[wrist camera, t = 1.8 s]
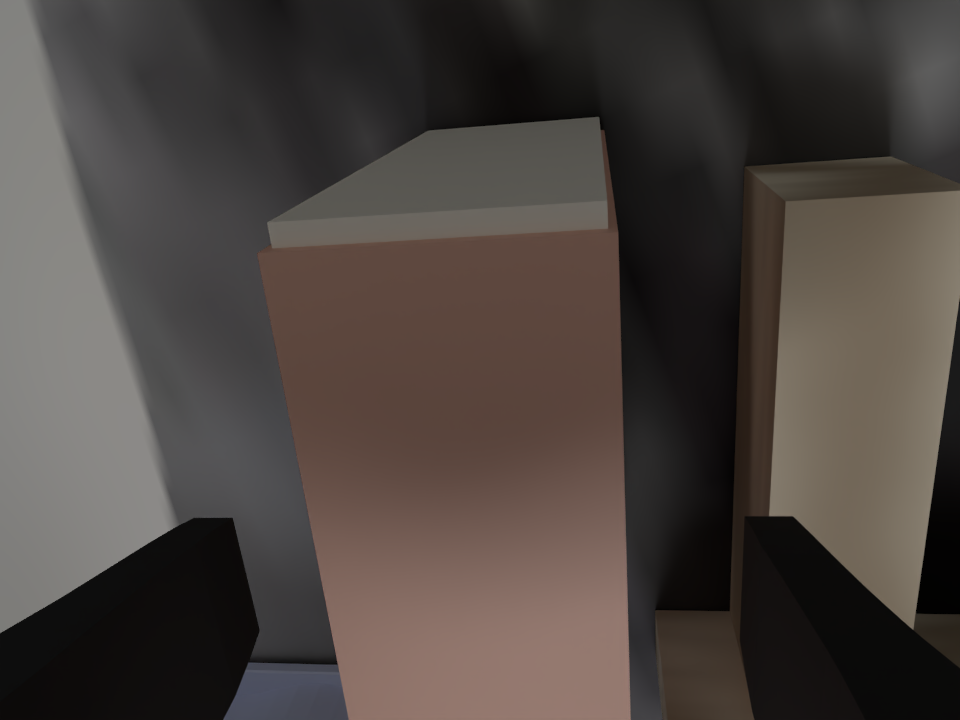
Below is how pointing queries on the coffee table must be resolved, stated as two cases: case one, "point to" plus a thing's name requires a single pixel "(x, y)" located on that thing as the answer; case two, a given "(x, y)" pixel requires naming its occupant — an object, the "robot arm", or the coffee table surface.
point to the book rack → (833, 395)
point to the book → (463, 422)
